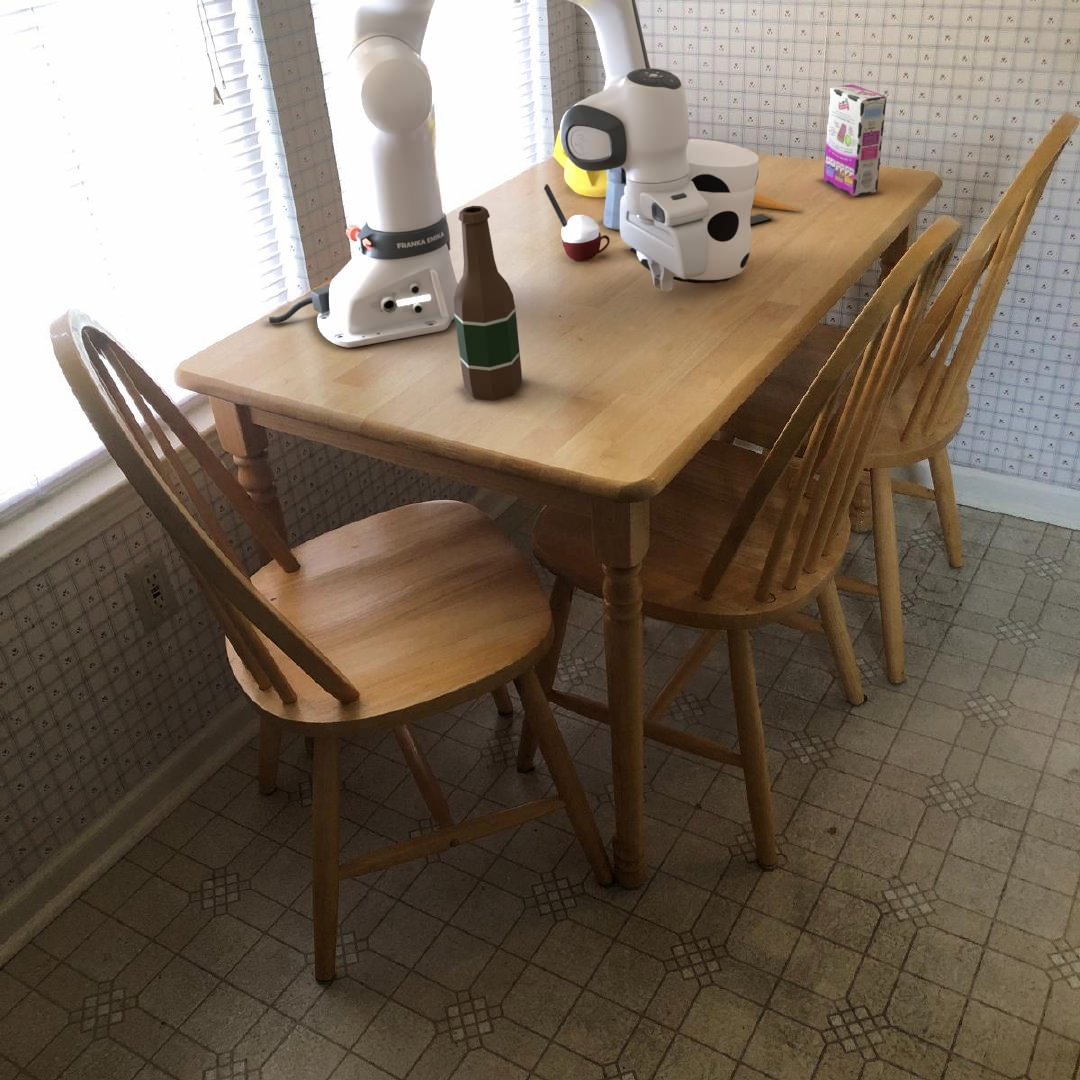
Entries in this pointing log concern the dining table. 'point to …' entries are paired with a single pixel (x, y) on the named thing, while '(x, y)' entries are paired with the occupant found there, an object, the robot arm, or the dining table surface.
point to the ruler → (753, 221)
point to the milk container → (723, 205)
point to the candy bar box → (854, 139)
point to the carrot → (768, 203)
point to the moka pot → (614, 197)
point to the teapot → (581, 175)
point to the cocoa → (578, 233)
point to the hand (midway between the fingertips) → (663, 288)
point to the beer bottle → (485, 315)
